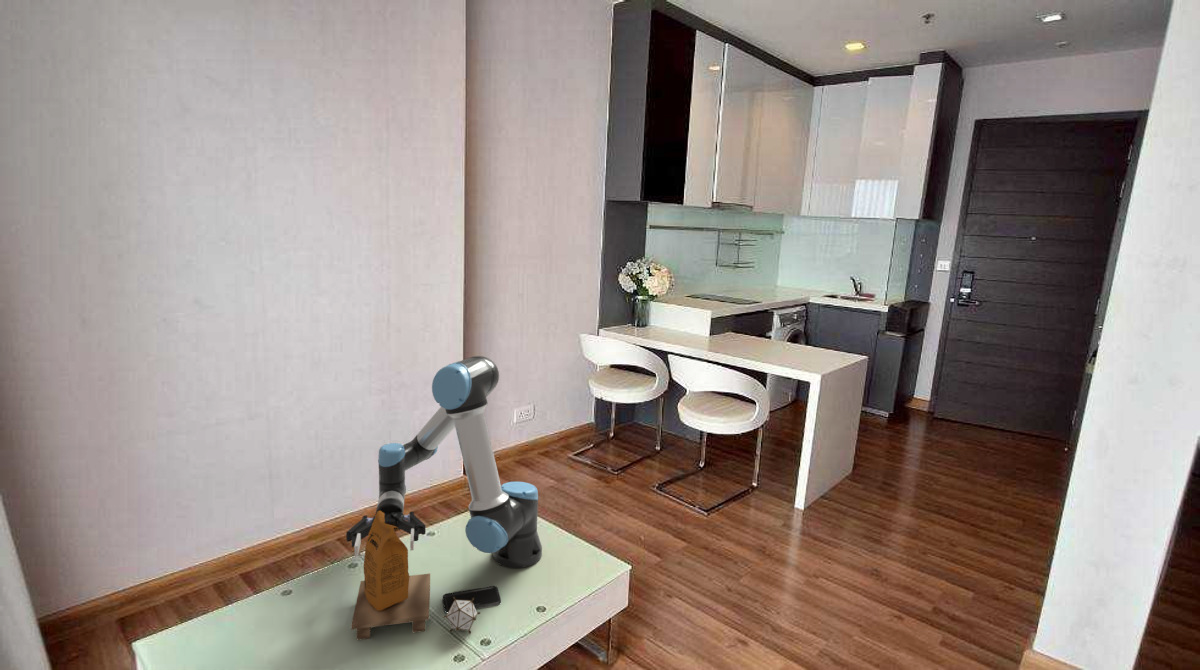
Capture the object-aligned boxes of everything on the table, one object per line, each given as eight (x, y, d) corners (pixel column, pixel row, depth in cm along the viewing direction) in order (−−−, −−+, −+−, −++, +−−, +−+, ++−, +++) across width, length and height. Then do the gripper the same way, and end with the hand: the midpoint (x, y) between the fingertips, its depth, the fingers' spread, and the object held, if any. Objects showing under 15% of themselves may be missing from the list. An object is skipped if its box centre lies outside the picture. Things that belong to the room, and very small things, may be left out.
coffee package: (397, 577, 160) (395, 503, 155) (413, 601, 150) (412, 523, 146) (359, 590, 154) (356, 512, 149) (373, 616, 144) (371, 534, 140)
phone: (442, 594, 160) (496, 585, 165) (442, 597, 160) (496, 588, 166) (444, 612, 153) (501, 602, 158) (444, 615, 153) (501, 605, 158)
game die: (463, 647, 147) (456, 635, 140) (440, 624, 150) (433, 611, 143) (489, 617, 152) (484, 605, 144) (466, 596, 155) (460, 583, 148)
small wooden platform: (430, 589, 163) (430, 573, 162) (429, 633, 146) (429, 615, 145) (361, 597, 158) (360, 580, 157) (351, 643, 141) (351, 625, 140)
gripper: (434, 517, 175) (434, 556, 155) (344, 525, 168) (332, 567, 148) (434, 494, 174) (434, 530, 154) (343, 501, 167) (331, 540, 147)
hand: (384, 548), depth 151 cm, fingers open, 13 cm apart
